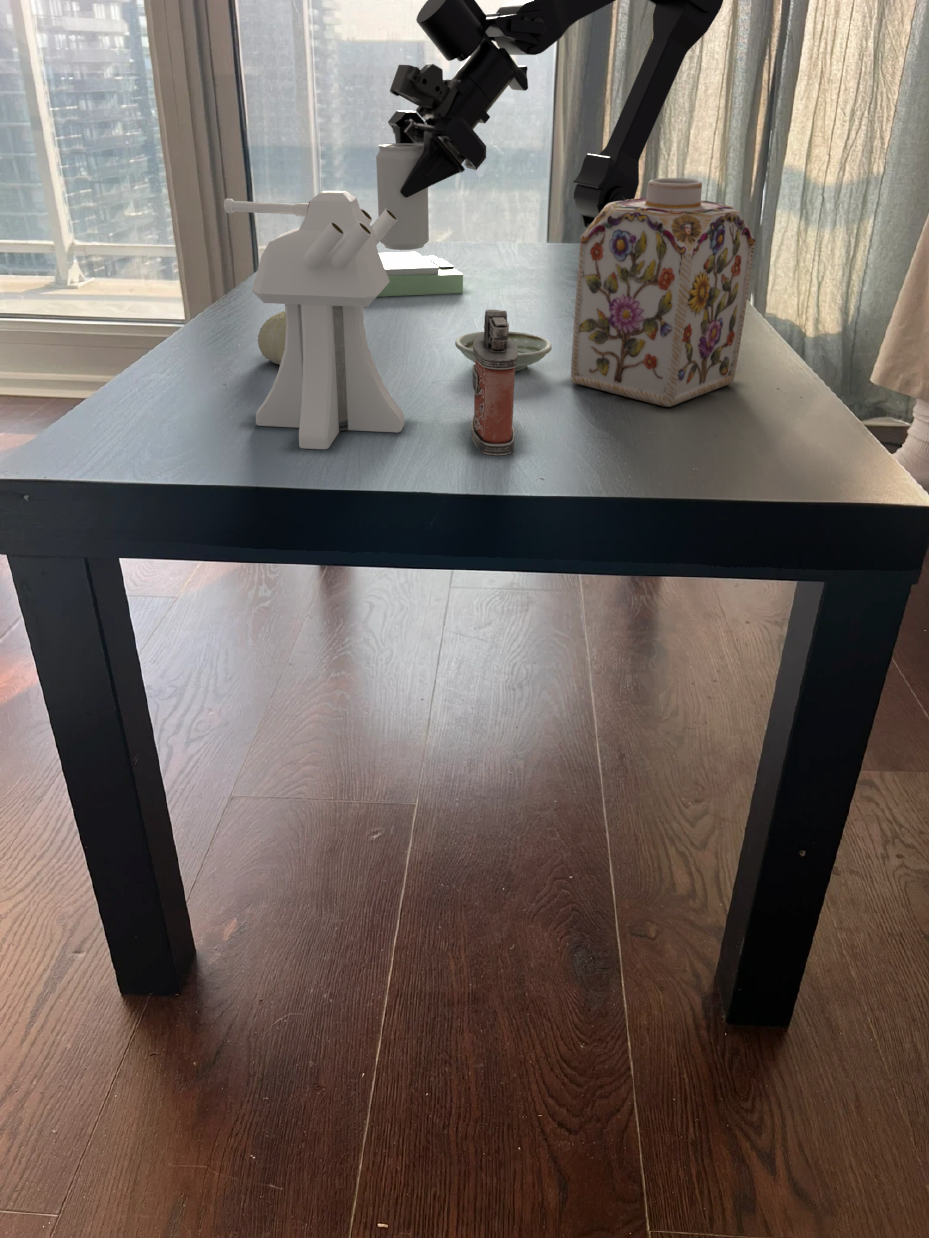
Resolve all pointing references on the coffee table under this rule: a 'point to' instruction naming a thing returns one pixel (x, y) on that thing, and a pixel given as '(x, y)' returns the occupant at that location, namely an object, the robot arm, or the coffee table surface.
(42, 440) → the coffee table surface
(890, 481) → the coffee table surface
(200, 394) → the coffee table surface
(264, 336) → the sea urchin shell
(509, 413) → the lighter
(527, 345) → the saucer
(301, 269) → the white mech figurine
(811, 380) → the coffee table surface
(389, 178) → the beverage can
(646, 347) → the decorative jar
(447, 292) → the scale
